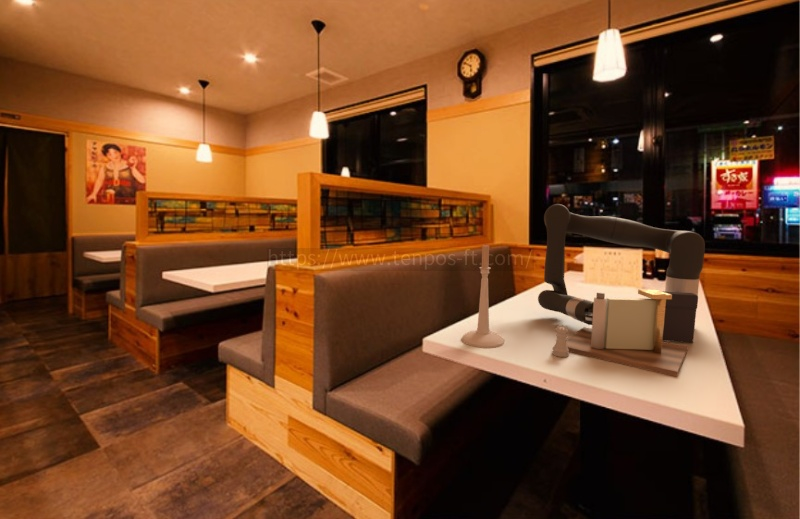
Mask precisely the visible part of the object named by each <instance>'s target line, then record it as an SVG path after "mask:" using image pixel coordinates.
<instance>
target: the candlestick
mask: <svg viewBox="0 0 800 519" xmlns="http://www.w3.org/2000/svg"><path fill="white" fill-rule="evenodd" d="M489 256H490V245H487V244H485V245H481V266H480V267H478V268H479V270H480V272H479V273H480V274H481V280H480V281H481V282H480V294H479V305H478V320H477V329H476V330H472V331H468V332H467V333H464V334H463V335H462V337H461V341H462V342H463V343H464V344H466V345H468V346H471V347H475V348H483V349H491V348H492V349H493V348H499V347H503V345H504V344H505V338H504V337H503V336H502V335H500V334H498V333H496V332H493V331H490V313H489V312H490V311H489V278H488V276H489V274H490V270H491V269H492V268H491V267H489V263H490V262H489Z"/></svg>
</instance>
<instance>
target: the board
mask: <svg viewBox="0 0 800 519" xmlns="http://www.w3.org/2000/svg"><path fill="white" fill-rule="evenodd" d="M591 337H592V327H586V326H583V327H582V328H580V329H579V330H577V331H576V332H575V333H573V334H572V335H571V336H569V337H568V338H566V345H567V348H568V349H569V352H568V353H573V354H577V355H581V354H582V356H587V357H590V358H591V357H592V358H593V359H594V358H595V359H600V360H603V361H608V362H613V363H617V364H620V365H625V366H629V367H634V368H639V369H642V370H646V371H652V372H655V373H660V374H664V375H668V376H672V377H678V375H679V373H680V371H681V370H680V369H681V367H682V364H683V362H684V360H685V358H686V355H687V352H688V348H689V346H687V345H682V344H677V343H673V342H668V341H662V351H661V353H660V354H659V353H654V352H653V350H642V349H610V348H605V347H604V348H603V349H596V348H593V347H591Z"/></svg>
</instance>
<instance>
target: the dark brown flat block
mask: <svg viewBox="0 0 800 519" xmlns="http://www.w3.org/2000/svg"><path fill="white" fill-rule="evenodd" d="M662 292H665V290H664V291H662ZM665 293H668V294H671V295H672V299H666V305H665V317H664V328H663V340H662V341H663V342H675V343H685V344H686V343H687V344H693V343H694V337H695V336H694V335H695V328H694V327H696V318H695V316H696V317H697V309H698V302H699V295H698V296H697V295H695V294H693V293H682V292H665Z"/></svg>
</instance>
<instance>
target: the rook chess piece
mask: <svg viewBox="0 0 800 519" xmlns="http://www.w3.org/2000/svg"><path fill="white" fill-rule="evenodd" d="M555 332H556V334H555V335H556V336H555V337H556V340H555V343H554V345H553V347H552V351H551V353H552V354H553V355H554V356H555V357H558V358H567V357H568V356H570V352H569V349H568V348H567V345H566V339H567V337H568V335H567V334H568V332H569V330H568V327H567V326H565V325H557V326H556V328H555Z"/></svg>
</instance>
